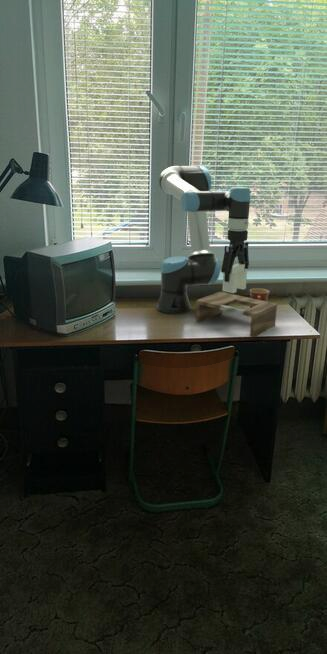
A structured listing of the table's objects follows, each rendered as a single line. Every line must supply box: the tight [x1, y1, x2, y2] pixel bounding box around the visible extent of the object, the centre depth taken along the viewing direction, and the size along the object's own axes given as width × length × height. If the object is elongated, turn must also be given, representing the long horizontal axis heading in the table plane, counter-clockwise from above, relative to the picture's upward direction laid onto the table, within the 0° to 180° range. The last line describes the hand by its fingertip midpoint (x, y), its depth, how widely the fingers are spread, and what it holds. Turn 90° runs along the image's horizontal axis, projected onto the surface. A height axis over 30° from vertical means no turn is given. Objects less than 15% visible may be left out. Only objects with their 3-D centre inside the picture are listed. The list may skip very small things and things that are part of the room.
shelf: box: [195, 290, 278, 338], centre depth 204 cm, size 28×18×10 cm, turn 51°
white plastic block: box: [221, 262, 248, 294], centre depth 190 cm, size 5×9×10 cm, turn 141°
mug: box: [249, 287, 271, 308], centre depth 217 cm, size 12×9×10 cm
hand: (234, 287), depth 191 cm, fingers closed on white plastic block, 9 cm apart
